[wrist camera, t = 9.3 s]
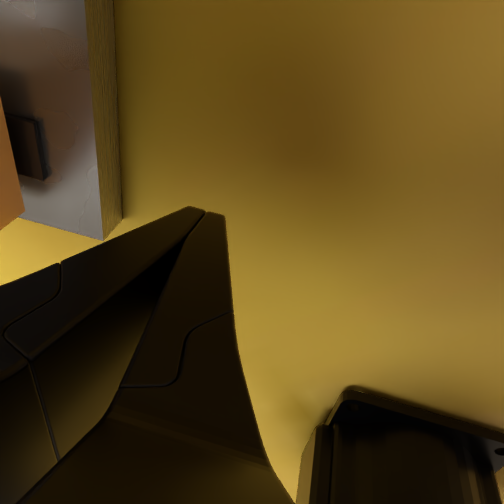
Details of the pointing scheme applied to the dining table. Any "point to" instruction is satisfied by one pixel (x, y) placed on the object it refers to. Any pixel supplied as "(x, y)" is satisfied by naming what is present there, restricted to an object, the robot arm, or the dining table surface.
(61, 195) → the console
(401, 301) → the dining table surface
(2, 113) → the block
